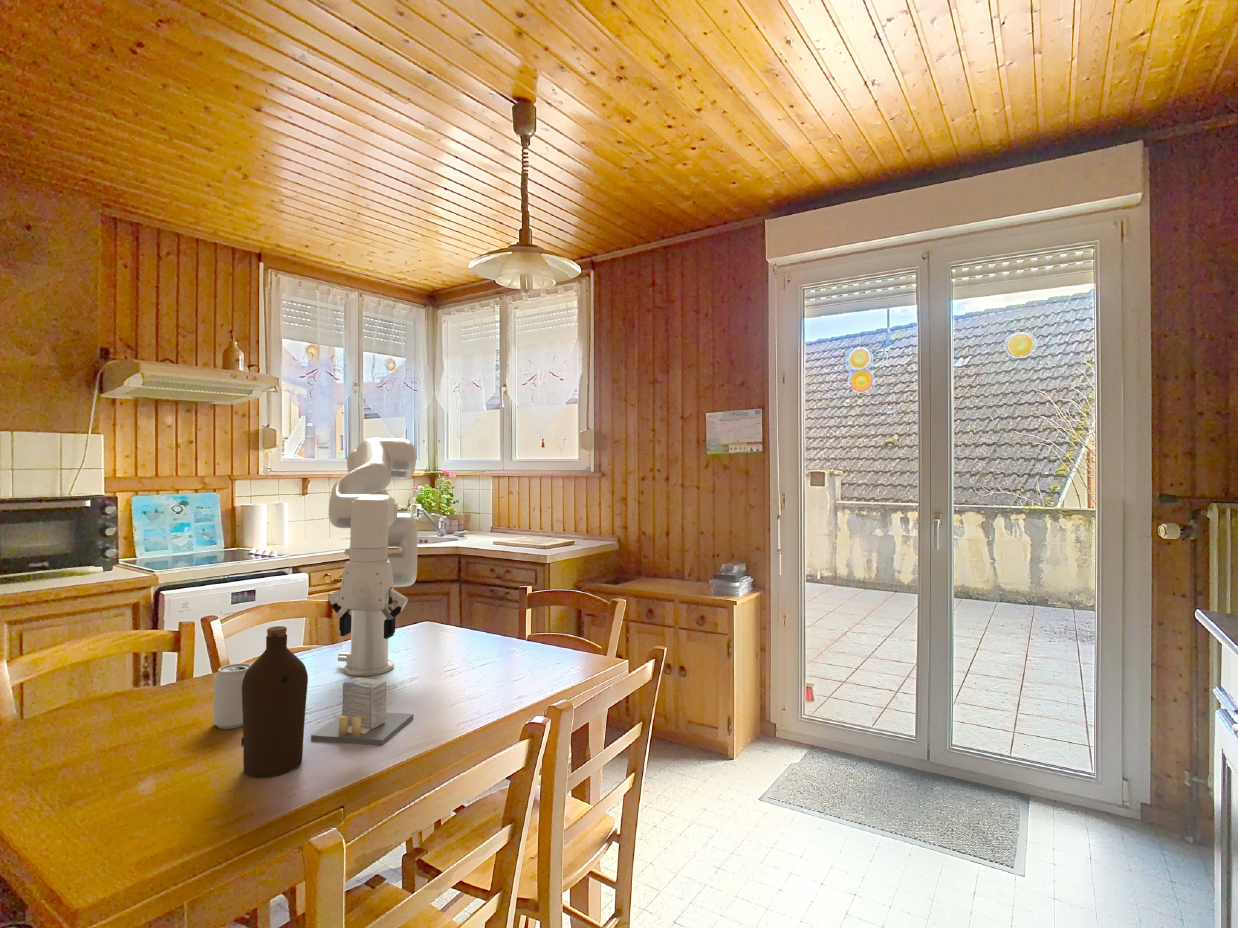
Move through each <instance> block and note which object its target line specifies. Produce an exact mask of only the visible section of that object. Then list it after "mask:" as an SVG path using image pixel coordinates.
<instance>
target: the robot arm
mask: <svg viewBox="0 0 1238 928" xmlns="http://www.w3.org/2000/svg"><path fill="white" fill-rule="evenodd" d="M416 465H417V452H416V448H415V446H414V444H413V442H412V441H410V440H408V439H405V438H391V437H390V438H385V437H384V438H382V437H381V438H380V437H372V438H367V439H364V440H361V442H360V443H359V444H358V445H357V447H356V449H354V450H351V451H350V452H349V453H348V454H347V457H346V467H347V468H346V469H347V473H346V474H344V475H343V476H341V477H340V478H338V479H337V480H336V481H335V483H334V484H333V486H332V488H331V492H330V498H329V502H328V503H329V504H328V519H329V522H330V524H331V525H332V526H334V527H335V528H338V529H350V530H349V531H350V533H349V534H350V535H349V536H350V537H349V540H350V541H349V542H350V544H349V548H346V549H344V555H345V556H348V560H349V561H346V562H345V563H344V564H345V565H344V567H343V568H344V569H343V572H342V578H341V584H340V589H338V590H336V591H334V592H332V593H331V594H328V597H327V598H328V600H329V602H330V604H331V609H333V611H335V613H336V616H337V617H338V618H339V624H338V625H339V627H338V629H339V631H340V633H339V635H340V637H345V636H347V635H349V634H351V635H350V652H347V651H346V652H345V651H344V652H343V651H340V652H339V653H338V657H337V661H338V662H345V663H346V664H345V666H344V667H343V672H344V673H345V674H346V675H349V676H355V677H357V676H358V677H363V676H365V677H367V676H375V675H380V674H384V673H388V672H389V671H391V670H393V669H394V666H395V663H394V661H392V660H390V659H389V639H390V638H391V637H394V634H395V632H396V618H397V617H399V615H400V614H401V613H402V612H403V611H404V609H405V607H406V605H407V604H408V601H409V599H408V597H407V596H406V595H404V594H402V593H401V592H398V591H396V589H395V588H401V587H402V588H403V587H404V588H405V587H409V586H412V585H413V584H415V582H416V580H417V577H418V576H417V575H418V524H417V521H416V518H415V516H413V514H410V513H407V512H399V506H398V503H397V502H396V500H395V499H394V497H392V496H390V494H389V492H388V490H387V487H388V486H389V485H390V483H391V482H392V481H407V480H410V479H411V478H413V476H414V474H415V469H416ZM389 548H397V549H399V550H400V551H398V552H397V551H395V552H394V551H393V552H389ZM394 601H397V605H396V607H394V606H393V605H394ZM350 612H351V613H350Z"/></svg>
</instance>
